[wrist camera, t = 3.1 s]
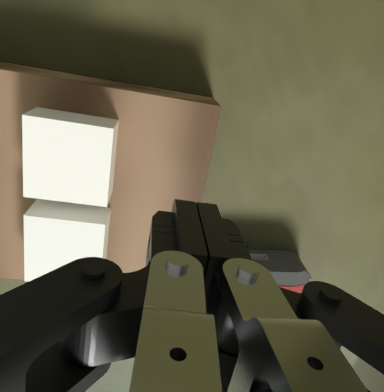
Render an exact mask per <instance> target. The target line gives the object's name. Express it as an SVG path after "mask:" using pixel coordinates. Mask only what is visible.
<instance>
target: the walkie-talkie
mask: <svg viewBox="0 0 384 392" xmlns="http://www.w3.org/2000/svg"><path fill="white" fill-rule="evenodd" d="M248 251H249V254H250V256H251V258H252V261H254V262H257V263H259V264H261V265H262V266H264V267H265V268H266V269H267V270H268V271H269V272H270V273H271V275H272V276H273V278H274V280H275V281H276V283H277V285H278V286H279V287H282V288H285V289H288V290H291V291H294V292H298V293H302V290H303V287H304V285H305V284H306V283H308V282H309V279H310V278H311V276H310V275H309V273H308V272H307V270H306V268H305V267H304V265H303V264H302V262H301V260H300V259H299V257H298V256H297V255H296V254H295V252H294V251H285V250H260V249H248Z"/></svg>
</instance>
